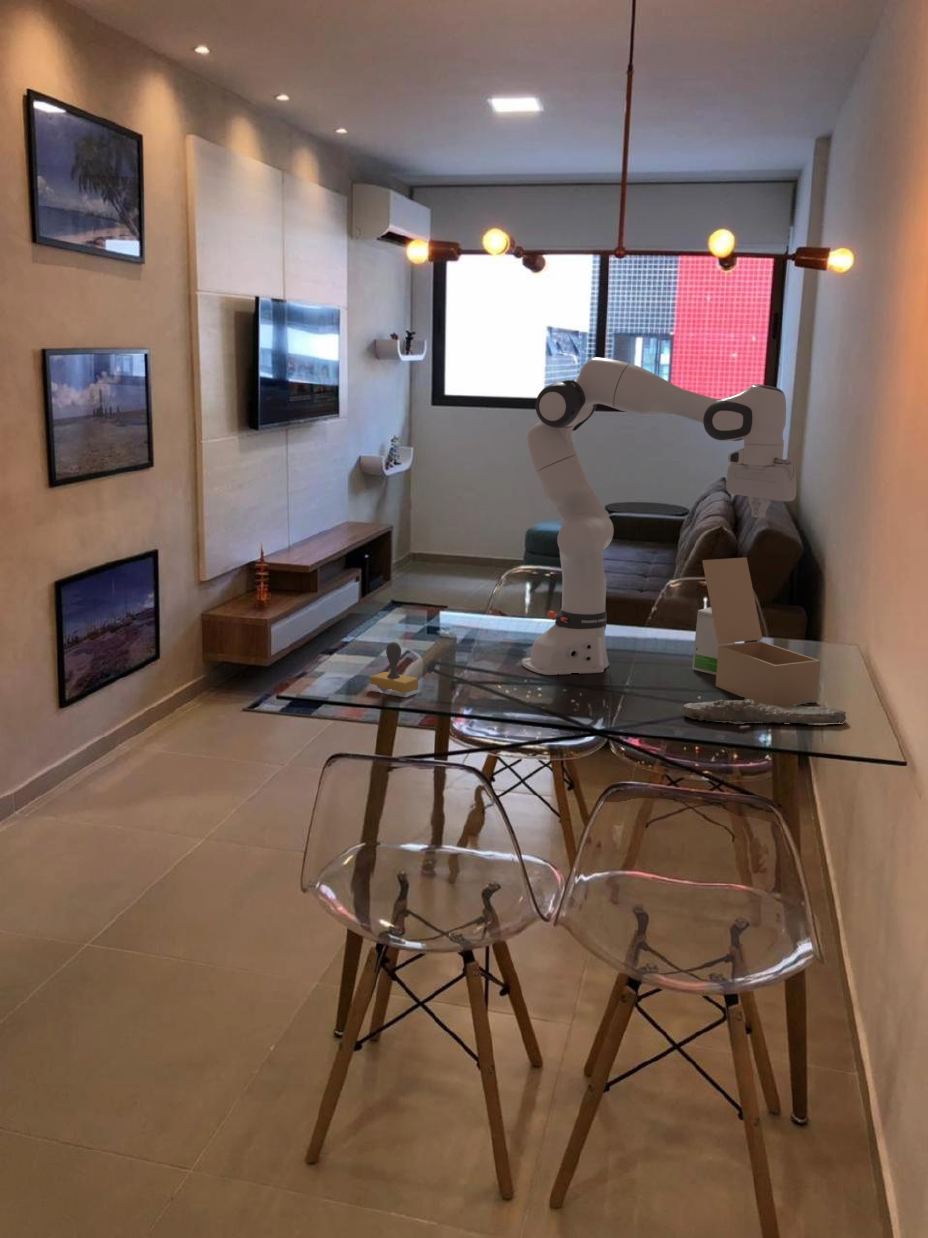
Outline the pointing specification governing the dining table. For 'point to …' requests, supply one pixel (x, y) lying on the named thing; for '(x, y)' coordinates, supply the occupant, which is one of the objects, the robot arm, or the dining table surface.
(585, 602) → the robot arm
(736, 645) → the carton
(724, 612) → the lid flap
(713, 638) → the skincare box
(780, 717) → the long grey stone
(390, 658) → the rubber stamp
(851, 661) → the dining table surface
